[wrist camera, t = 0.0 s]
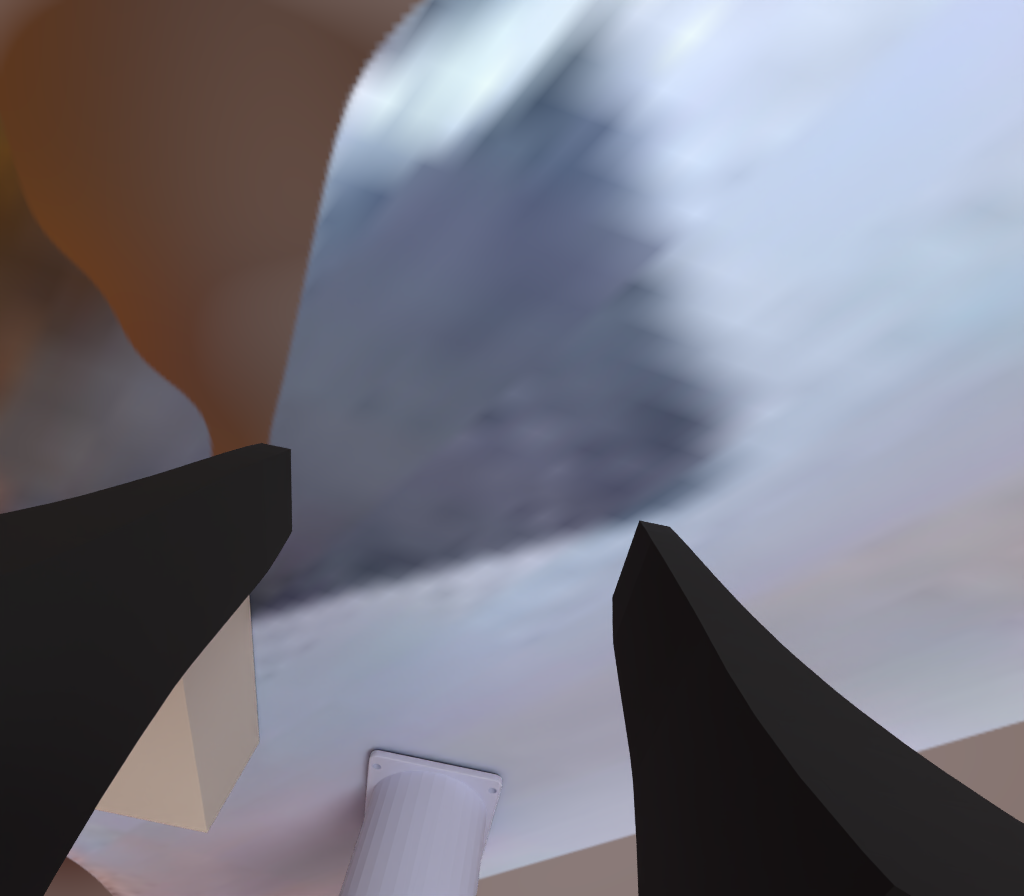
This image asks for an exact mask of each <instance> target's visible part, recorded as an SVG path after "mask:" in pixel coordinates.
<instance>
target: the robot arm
mask: <svg viewBox="0 0 1024 896" xmlns="http://www.w3.org/2000/svg"><path fill="white" fill-rule="evenodd" d="M291 532H292V498H291V449H287V448H282V447H277V446H273V445H268V444H263V443H261V444H256V445H251V446H247V447H243V448H240V449H236V450H232V451H229V452H226V453H222V454H219V455H216V456H213V457H210V458H207V459H203V460H200V461H197V462H194V463H191V464H188V465H185V466H181V467H178V468H175V469H172V470H169V471H166V472H163V473H159V474H156V475H153V476H150V477H146V478H142V479H139V480H135V481H132V482H128V483H125V484H121V485H118V486H114V487H111V488H107V489H104V490H100V491H97V492H93V493H90V494H86V495H82V496H78V497H74V498H71V499H66V500H62V501H58V502H54V503H50V504H45V505H41V506H36V507H31V508H27V509H22V510H18V511H13V512H8V513H4V514H0V896H44V894H45V892H46V890H47V889H48V887H49V885H50V883H51V882H52V880H53V878H54V876H55V875H56V873H57V871H58V870H59V868H60V866H61V865H62V863H63V861H64V860H65V858H66V856H67V855H68V853H69V851H70V850H71V848H72V846H73V845H74V843H75V841H76V840H77V838H78V836H79V835H80V833H81V831H82V830H83V828H84V826H85V825H86V823H87V821H88V820H89V818H90V816H91V815H92V813H93V811H94V810H95V808H96V806H97V805H98V803H99V802H100V800H101V798H102V797H103V795H104V794H105V792H106V790H107V789H108V787H109V786H110V784H111V783H112V781H113V779H114V778H115V776H116V775H117V773H118V772H119V770H120V769H121V767H122V765H123V764H124V762H125V761H126V759H127V758H128V756H129V754H130V753H131V751H132V750H133V748H134V747H135V745H136V744H137V742H138V740H139V739H140V737H141V736H142V734H143V733H144V731H145V730H146V728H147V727H148V725H149V724H150V723H151V721H152V720H153V718H154V717H155V715H156V714H157V712H158V711H159V709H160V708H161V706H162V705H163V703H164V702H165V700H166V699H167V697H168V696H169V694H170V693H171V691H172V690H173V688H174V687H175V686H176V684H177V683H178V682H179V680H180V679H181V678H182V676H183V675H184V674H185V673H186V671H187V670H188V669H189V667H190V666H191V665H192V663H193V662H194V661H195V660H196V659H197V657H198V656H199V655H200V654H201V652H202V651H203V650H204V649H205V648H206V646H207V645H208V644H209V643H210V642H211V640H212V639H213V638H214V637H215V636H216V634H217V633H218V632H219V631H220V629H221V628H222V627H223V626H224V625H225V623H226V622H227V621H228V620H229V619H230V617H231V616H232V615H233V614H234V613H235V611H236V610H237V609H238V608H239V607H240V605H241V604H242V603H243V602H244V600H245V599H246V598H247V597H248V595H249V594H250V593H251V592H252V591H253V589H254V588H255V587H256V586H257V584H258V583H259V582H260V581H261V579H262V578H263V577H264V576H265V574H266V573H267V572H268V570H269V569H270V567H271V566H272V564H273V562H274V561H275V559H276V558H277V556H278V554H279V553H280V551H281V549H282V548H283V546H284V544H285V543H286V541H287V539H288V538H289V536H290V534H291ZM612 602H613V645H614V652H615V659H616V666H617V673H618V680H619V686H620V693H621V699H622V706H623V712H624V719H625V725H626V732H627V738H628V745H629V751H630V759H631V768H632V777H633V789H634V807H635V825H636V841H637V842H636V843H637V868H638V893H639V896H1024V823H1022V822H1020V821H1018V820H1017V819H1015V818H1013V817H1012V816H1011V815H1009V814H1008V813H1006V812H1004V811H1003V810H1001V809H1000V808H998V807H997V806H995V805H994V804H992V803H991V802H989V801H988V800H986V799H985V798H983V797H982V796H980V795H978V794H977V793H976V792H974V791H973V790H971V789H970V788H968V787H967V786H965V785H964V784H962V783H961V782H959V781H958V780H956V779H955V778H953V777H952V776H950V775H949V774H947V773H945V772H944V771H943V770H941V769H940V768H938V767H937V766H936V765H934V764H933V763H931V762H930V761H928V760H927V759H926V758H924V757H923V756H921V755H920V754H919V753H917V752H916V751H914V750H913V749H911V748H910V747H909V746H907V745H906V744H904V743H903V742H902V741H900V740H899V739H898V738H896V737H895V736H894V735H892V734H891V733H890V732H888V731H887V730H886V729H884V728H883V727H882V726H880V725H879V724H878V723H876V722H875V721H874V720H872V719H871V718H870V717H868V716H867V715H866V714H864V713H863V712H862V711H860V710H859V709H858V708H857V707H855V706H854V705H853V704H852V703H850V702H849V701H848V700H846V699H845V698H844V697H843V696H841V695H840V694H839V693H838V692H836V691H835V690H834V689H833V688H832V687H830V686H829V685H828V684H827V683H826V682H825V681H823V680H822V679H821V678H820V677H819V676H818V675H816V674H815V673H814V672H813V671H812V670H810V669H809V668H808V667H807V666H806V665H805V664H803V663H802V662H801V661H800V660H799V659H798V658H796V657H795V656H794V655H793V654H792V653H791V652H790V651H789V650H788V649H787V648H785V647H784V646H783V645H782V644H781V643H780V642H779V641H778V640H777V639H776V638H775V637H774V636H773V635H772V634H771V633H770V632H769V631H768V630H767V629H766V628H765V627H764V626H762V625H761V624H760V623H759V622H758V621H757V620H756V619H755V618H754V617H753V616H752V615H751V614H750V613H749V612H748V611H747V610H746V609H745V608H744V607H743V606H742V605H741V603H740V602H739V601H738V600H737V599H736V598H735V597H734V596H733V595H732V594H731V593H730V592H729V591H728V590H727V589H726V588H725V587H724V585H723V584H722V583H721V582H720V581H719V580H718V579H717V578H716V577H715V576H714V575H713V573H712V572H711V571H710V570H709V569H708V568H707V567H706V566H705V565H704V563H703V562H702V561H701V560H700V559H699V558H698V557H697V556H696V555H695V553H694V552H693V551H692V550H691V549H690V548H689V547H688V546H687V545H686V543H685V542H684V541H683V540H682V539H681V538H680V537H679V536H678V535H677V534H676V533H675V532H674V531H673V530H672V529H671V528H670V527H668V526H663V525H658V524H654V523H649V522H644V521H639V523H638V526H637V529H636V532H635V535H634V538H633V540H632V543H631V546H630V549H629V552H628V555H627V557H626V560H625V563H624V566H623V569H622V572H621V575H620V577H619V580H618V583H617V586H616V589H615V592H614V594H613V597H612ZM501 788H502V778H501V777H500V776H499V775H496V774H492V773H487V772H482V771H477V770H472V769H468V768H463V767H458V766H453V765H448V764H444V763H439V762H434V761H429V760H424V759H419V758H415V757H410V756H405V755H400V754H395V753H391V752H386V751H381V750H375V751H373V752H371V755H370V758H369V766H368V777H367V789H366V801H365V813H364V821H363V824H362V827H361V830H360V834H359V837H358V840H357V843H356V846H355V849H354V852H353V855H352V858H351V861H350V864H349V867H348V870H347V873H346V876H345V879H344V882H343V885H342V888H341V891H340V894H339V896H476V894H477V887H478V879H479V871H480V864H481V858H482V855H483V851H484V848H485V844H486V841H487V837H488V834H489V830H490V827H491V823H492V820H493V816H494V813H495V809H496V806H497V802H498V799H499V795H500V792H501Z"/></svg>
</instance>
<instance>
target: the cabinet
mask: <svg viewBox="0 0 1024 896" xmlns="http://www.w3.org/2000/svg"><path fill="white" fill-rule="evenodd" d="M258 744H259V729H258V714H257V700H256V685H255V671H254V656H253V642H252V627H251V613H250V598H249V595H248V597H247V598H246V599H245V600H244V602H243V603H242V604H241V605H240V607H239V608H238V609H237V610H236V611H235V613H234V614H233V615H232V616H231V617H230V619H229V620H228V621H227V622H226V623H225V625H224V626H223V627H222V628H221V629H220V631H219V632H218V633H217V634H216V636H215V637H214V638H213V639H212V640H211V642H210V643H209V644H208V645H207V646H206V648H205V649H204V650H203V651H202V652H201V654H200V655H199V656H198V657H197V659H196V660H195V661H194V662H193V663H192V665H191V666H190V667H189V669H188V670H187V671H186V673H185V674H184V675H183V676H182V678H181V679H180V680H179V682H178V683H177V684H176V686H175V687H174V688H173V690H172V691H171V693H170V694H169V696H168V697H167V699H166V700H165V702H164V703H163V705H162V706H161V708H160V709H159V711H158V712H157V714H156V715H155V717H154V718H153V720H152V721H151V723H150V724H149V725H148V727H147V728H146V730H145V731H144V733H143V734H142V736H141V737H140V739H139V740H138V742H137V744H136V745H135V747H134V748H133V750H132V751H131V753H130V754H129V756H128V758H127V759H126V761H125V762H124V764H123V765H122V767H121V769H120V770H119V772H118V773H117V775H116V776H115V778H114V779H113V781H112V783H111V784H110V786H109V787H108V789H107V790H106V792H105V794H104V795H103V797H102V798H101V800H100V802H99V803H98V805H97V806H96V808H95V809H96V810H100V811H105V812H110V813H115V814H119V815H124V816H129V817H134V818H139V819H143V820H148V821H153V822H158V823H162V824H167V825H172V826H177V827H182V828H186V829H191V830H196V831H201V832H205V833H208V831H209V829H210V827H211V826H212V824H213V822H214V820H215V819H216V817H217V815H218V813H219V812H220V810H221V808H222V806H223V805H224V803H225V801H226V799H227V798H228V796H229V794H230V792H231V791H232V789H233V787H234V785H235V784H236V782H237V780H238V778H239V777H240V775H241V773H242V772H243V770H244V768H245V766H246V765H247V763H248V761H249V759H250V758H251V756H252V754H253V752H254V751H255V749H256V747H257V745H258Z"/></svg>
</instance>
